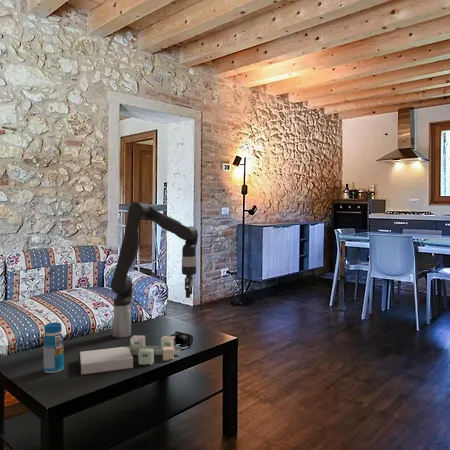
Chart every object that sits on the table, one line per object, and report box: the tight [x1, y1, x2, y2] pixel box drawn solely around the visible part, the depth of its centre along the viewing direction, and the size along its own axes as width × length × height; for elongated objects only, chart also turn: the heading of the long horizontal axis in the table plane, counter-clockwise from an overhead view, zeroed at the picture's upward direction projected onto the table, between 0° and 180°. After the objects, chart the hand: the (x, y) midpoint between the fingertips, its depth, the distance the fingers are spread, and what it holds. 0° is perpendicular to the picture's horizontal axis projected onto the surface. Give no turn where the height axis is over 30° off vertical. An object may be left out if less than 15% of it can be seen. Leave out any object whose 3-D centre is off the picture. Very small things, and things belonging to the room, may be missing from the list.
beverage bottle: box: [42, 322, 65, 374], centre depth 182 cm, size 8×8×20 cm
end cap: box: [169, 331, 194, 347], centre depth 213 cm, size 10×7×7 cm
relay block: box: [162, 347, 175, 361], centre depth 196 cm, size 5×4×5 cm
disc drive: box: [77, 345, 134, 376], centre depth 189 cm, size 18×22×5 cm
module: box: [137, 348, 155, 366], centre depth 190 cm, size 6×4×6 cm
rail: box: [128, 334, 182, 356], centre depth 203 cm, size 26×7×8 cm, turn 86°
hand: (189, 296), depth 218 cm, fingers open, 8 cm apart
